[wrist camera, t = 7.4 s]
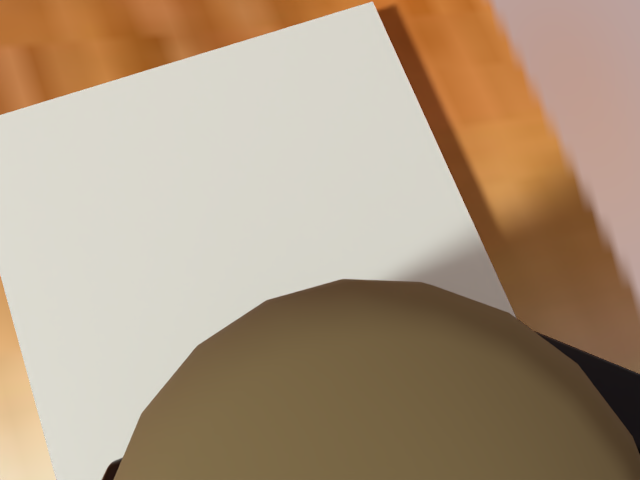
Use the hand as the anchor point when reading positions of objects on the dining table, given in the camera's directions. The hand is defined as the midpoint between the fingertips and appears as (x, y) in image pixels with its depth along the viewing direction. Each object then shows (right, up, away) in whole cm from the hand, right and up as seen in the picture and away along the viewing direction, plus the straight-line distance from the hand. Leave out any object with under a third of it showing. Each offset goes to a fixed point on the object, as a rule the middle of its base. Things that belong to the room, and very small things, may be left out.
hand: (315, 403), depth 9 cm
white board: (-1, -1, +9) cm, 9 cm away
